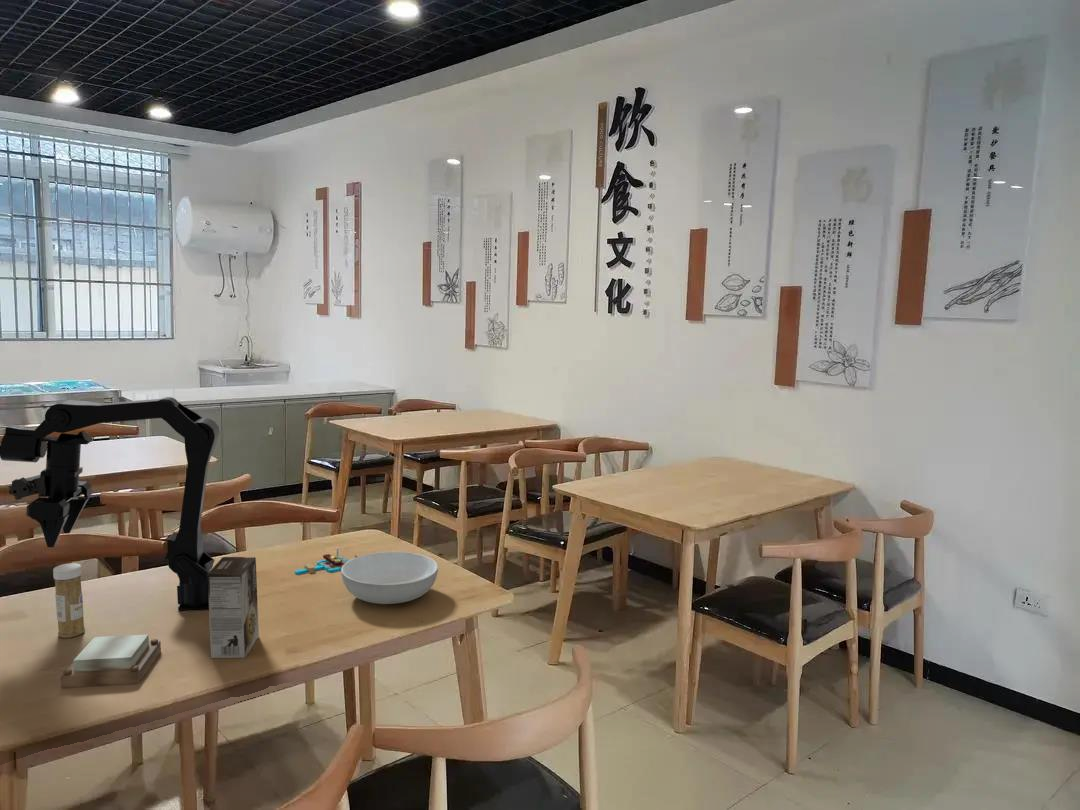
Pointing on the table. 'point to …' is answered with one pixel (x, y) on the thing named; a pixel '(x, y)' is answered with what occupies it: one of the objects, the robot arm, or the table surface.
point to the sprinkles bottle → (69, 600)
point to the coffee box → (233, 607)
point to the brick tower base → (113, 674)
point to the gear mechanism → (330, 560)
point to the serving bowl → (389, 576)
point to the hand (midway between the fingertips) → (58, 539)
